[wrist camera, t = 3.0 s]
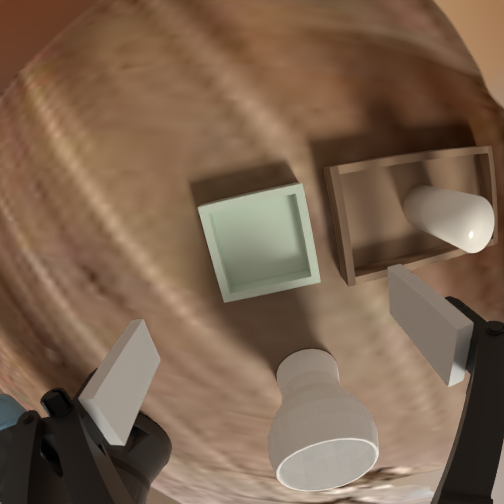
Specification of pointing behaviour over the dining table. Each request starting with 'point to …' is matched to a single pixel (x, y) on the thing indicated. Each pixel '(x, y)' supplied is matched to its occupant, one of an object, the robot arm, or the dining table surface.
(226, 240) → the dish
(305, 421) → the cup
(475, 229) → the white rounded cylinder
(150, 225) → the dining table surface
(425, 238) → the tray
